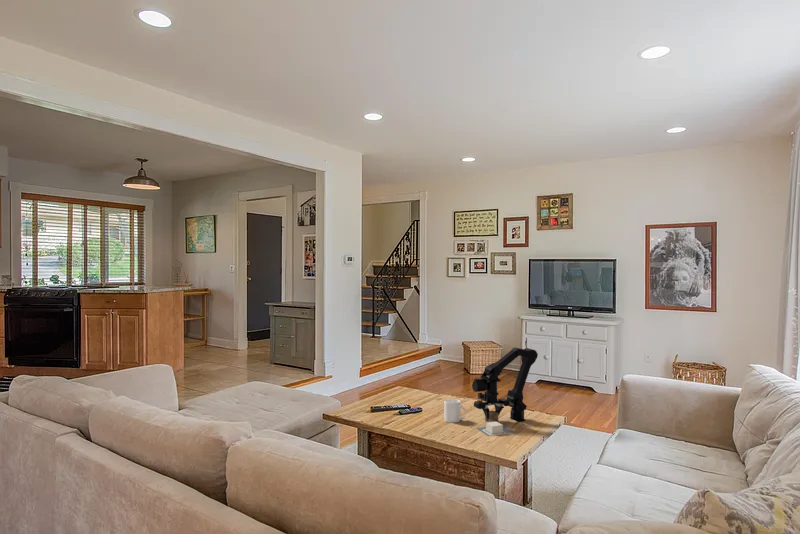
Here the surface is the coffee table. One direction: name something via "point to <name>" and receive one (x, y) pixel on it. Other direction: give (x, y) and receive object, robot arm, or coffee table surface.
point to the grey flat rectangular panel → (505, 431)
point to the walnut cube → (492, 416)
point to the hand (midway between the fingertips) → (491, 419)
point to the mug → (453, 410)
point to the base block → (494, 427)
